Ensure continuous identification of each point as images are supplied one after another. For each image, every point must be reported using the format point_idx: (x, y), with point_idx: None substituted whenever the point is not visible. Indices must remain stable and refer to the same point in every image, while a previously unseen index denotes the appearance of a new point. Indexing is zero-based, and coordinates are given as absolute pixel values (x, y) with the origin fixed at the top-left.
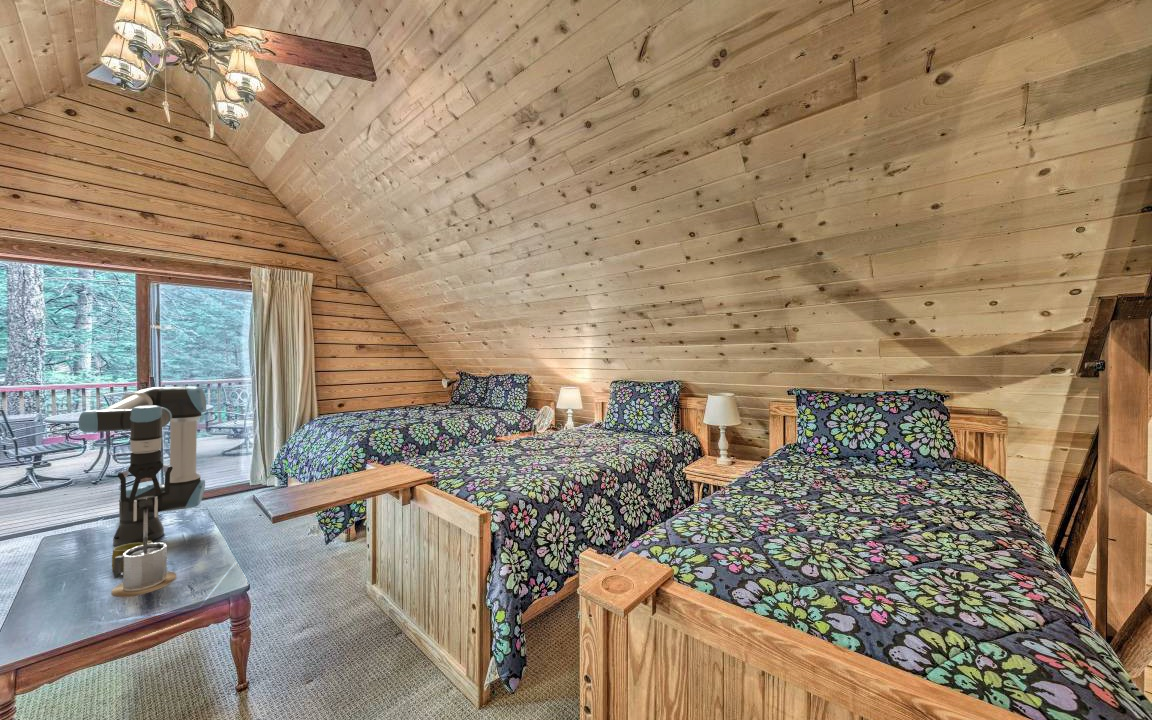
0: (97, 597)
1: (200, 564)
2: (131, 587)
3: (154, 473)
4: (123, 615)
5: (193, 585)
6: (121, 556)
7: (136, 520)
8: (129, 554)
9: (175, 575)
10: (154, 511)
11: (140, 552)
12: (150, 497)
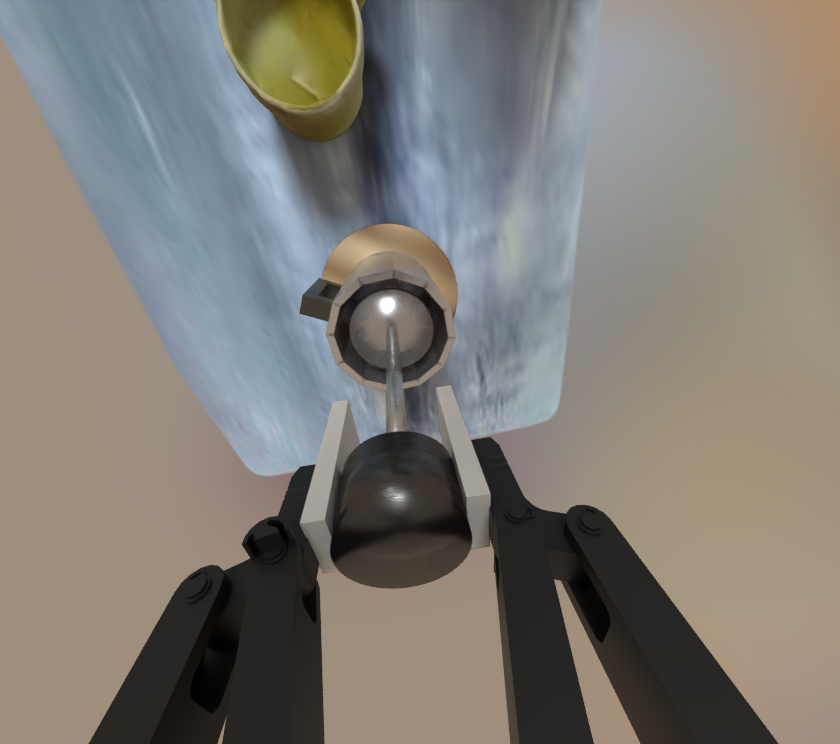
0: (297, 305)
1: (514, 230)
2: None
3: None
4: (375, 423)
5: (485, 364)
6: (319, 310)
7: (358, 444)
8: (341, 305)
9: (454, 290)
10: (443, 430)
11: (376, 322)
12: (439, 546)
